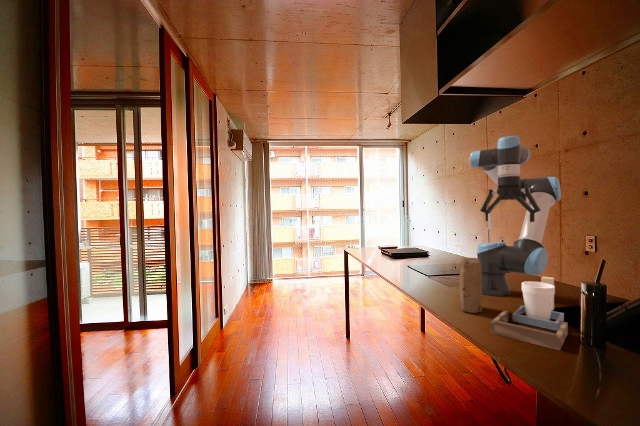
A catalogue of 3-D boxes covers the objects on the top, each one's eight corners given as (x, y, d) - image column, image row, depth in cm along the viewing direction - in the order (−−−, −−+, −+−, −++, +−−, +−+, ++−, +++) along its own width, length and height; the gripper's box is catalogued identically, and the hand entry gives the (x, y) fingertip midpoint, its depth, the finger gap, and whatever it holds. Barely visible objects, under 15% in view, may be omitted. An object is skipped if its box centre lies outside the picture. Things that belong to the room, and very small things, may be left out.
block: (483, 315, 114) (482, 261, 114) (460, 312, 117) (460, 260, 117) (479, 306, 124) (479, 256, 124) (459, 304, 127) (458, 256, 127)
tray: (529, 304, 125) (529, 274, 125) (569, 311, 116) (569, 279, 116) (512, 321, 107) (512, 286, 107) (557, 331, 98) (557, 293, 98)
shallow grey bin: (504, 319, 109) (504, 308, 109) (567, 333, 97) (567, 321, 97) (490, 332, 98) (490, 320, 98) (559, 350, 86) (559, 336, 86)
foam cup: (556, 329, 100) (556, 289, 100) (522, 324, 105) (521, 286, 105) (553, 320, 108) (553, 283, 108) (521, 315, 113) (521, 280, 113)
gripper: (472, 178, 128) (472, 229, 129) (545, 172, 110) (545, 232, 111) (478, 179, 133) (478, 228, 134) (549, 174, 116) (549, 230, 116)
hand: (509, 230), depth 122 cm, fingers open, 13 cm apart
